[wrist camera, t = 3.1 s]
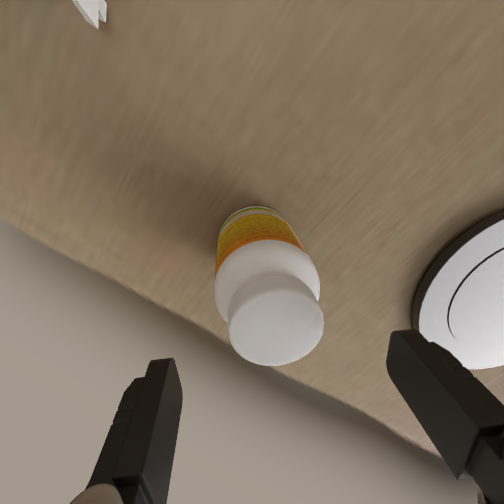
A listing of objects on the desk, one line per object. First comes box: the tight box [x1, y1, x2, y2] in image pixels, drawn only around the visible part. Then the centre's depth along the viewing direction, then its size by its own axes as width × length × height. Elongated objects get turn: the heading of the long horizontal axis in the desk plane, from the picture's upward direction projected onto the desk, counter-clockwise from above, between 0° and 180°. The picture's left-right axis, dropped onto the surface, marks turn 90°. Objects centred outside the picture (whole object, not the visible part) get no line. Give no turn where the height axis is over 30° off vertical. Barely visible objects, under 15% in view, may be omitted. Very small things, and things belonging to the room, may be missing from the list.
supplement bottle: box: [214, 206, 324, 366], centre depth 15 cm, size 5×5×10 cm
